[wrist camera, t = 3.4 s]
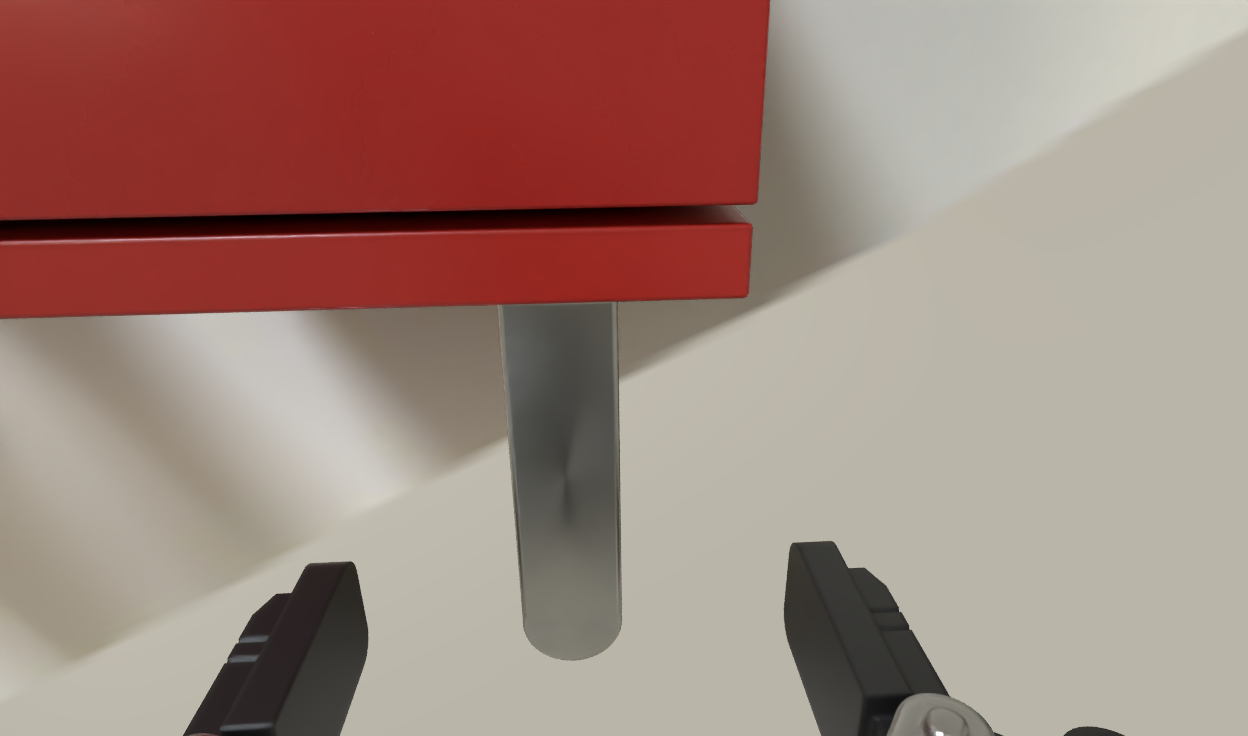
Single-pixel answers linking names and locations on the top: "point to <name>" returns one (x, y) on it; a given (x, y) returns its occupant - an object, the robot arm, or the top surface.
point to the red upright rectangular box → (377, 106)
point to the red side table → (438, 277)
